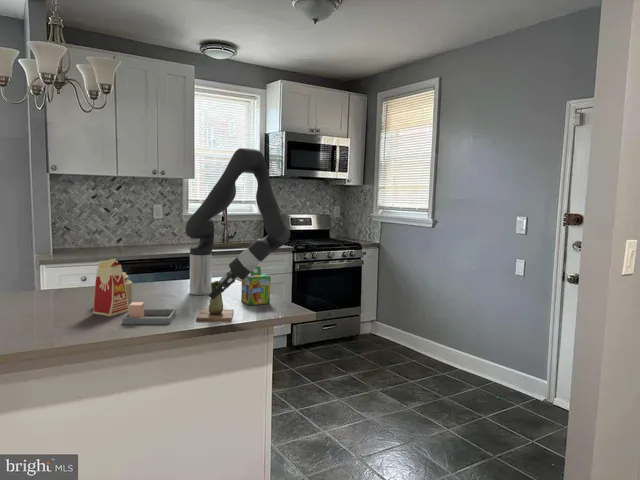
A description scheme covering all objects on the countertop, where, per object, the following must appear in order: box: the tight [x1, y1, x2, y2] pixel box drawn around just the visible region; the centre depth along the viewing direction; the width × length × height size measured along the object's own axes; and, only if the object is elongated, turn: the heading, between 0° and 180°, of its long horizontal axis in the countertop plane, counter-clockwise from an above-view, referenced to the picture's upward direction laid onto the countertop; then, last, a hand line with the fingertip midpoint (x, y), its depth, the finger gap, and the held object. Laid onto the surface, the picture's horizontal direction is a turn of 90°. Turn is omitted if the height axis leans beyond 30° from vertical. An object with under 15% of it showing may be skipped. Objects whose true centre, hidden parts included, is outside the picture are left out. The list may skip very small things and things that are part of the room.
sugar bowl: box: [122, 271, 133, 305], centre depth 182 cm, size 15×11×15 cm
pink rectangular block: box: [128, 301, 145, 318], centre depth 160 cm, size 4×4×6 cm
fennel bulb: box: [208, 280, 224, 314], centre depth 168 cm, size 6×5×12 cm
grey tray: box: [121, 308, 177, 325], centre depth 163 cm, size 12×15×2 cm
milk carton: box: [92, 257, 129, 317], centre depth 169 cm, size 9×9×20 cm
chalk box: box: [240, 265, 272, 306], centre depth 191 cm, size 9×9×15 cm
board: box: [195, 308, 234, 323], centre depth 168 cm, size 12×12×1 cm
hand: (211, 294), depth 167 cm, fingers open, 8 cm apart
